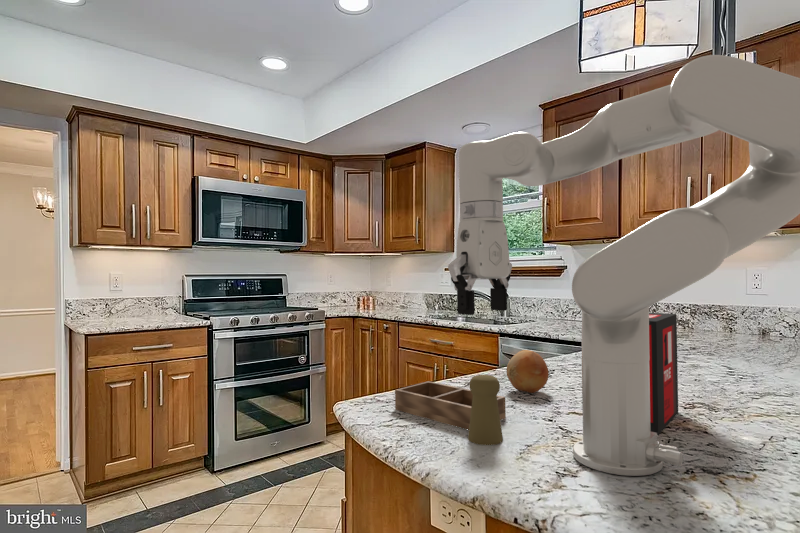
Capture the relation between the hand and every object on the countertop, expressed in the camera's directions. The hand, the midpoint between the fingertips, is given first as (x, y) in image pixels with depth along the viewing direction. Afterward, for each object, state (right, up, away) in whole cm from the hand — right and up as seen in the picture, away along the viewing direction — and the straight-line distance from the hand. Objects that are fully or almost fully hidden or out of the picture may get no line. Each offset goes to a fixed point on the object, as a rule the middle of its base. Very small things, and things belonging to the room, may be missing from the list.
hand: (483, 312), depth 84 cm
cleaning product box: (+33, -22, +10) cm, 41 cm away
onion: (+16, -22, +31) cm, 41 cm away
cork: (0, -22, 0) cm, 22 cm away
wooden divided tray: (-5, -22, +15) cm, 27 cm away
